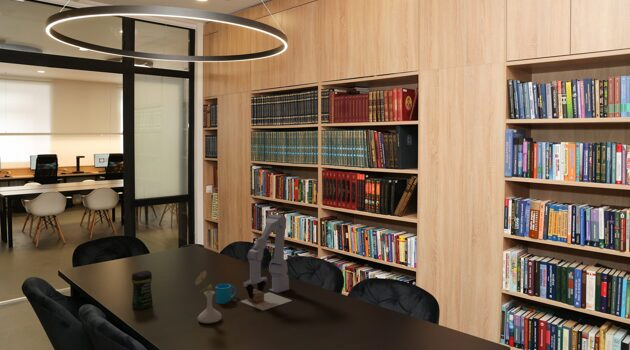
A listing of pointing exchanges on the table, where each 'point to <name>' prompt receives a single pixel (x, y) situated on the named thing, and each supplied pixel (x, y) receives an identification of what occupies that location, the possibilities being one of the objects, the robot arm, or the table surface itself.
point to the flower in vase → (208, 303)
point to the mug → (224, 293)
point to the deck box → (256, 296)
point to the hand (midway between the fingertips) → (255, 296)
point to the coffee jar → (142, 290)
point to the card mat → (268, 301)
